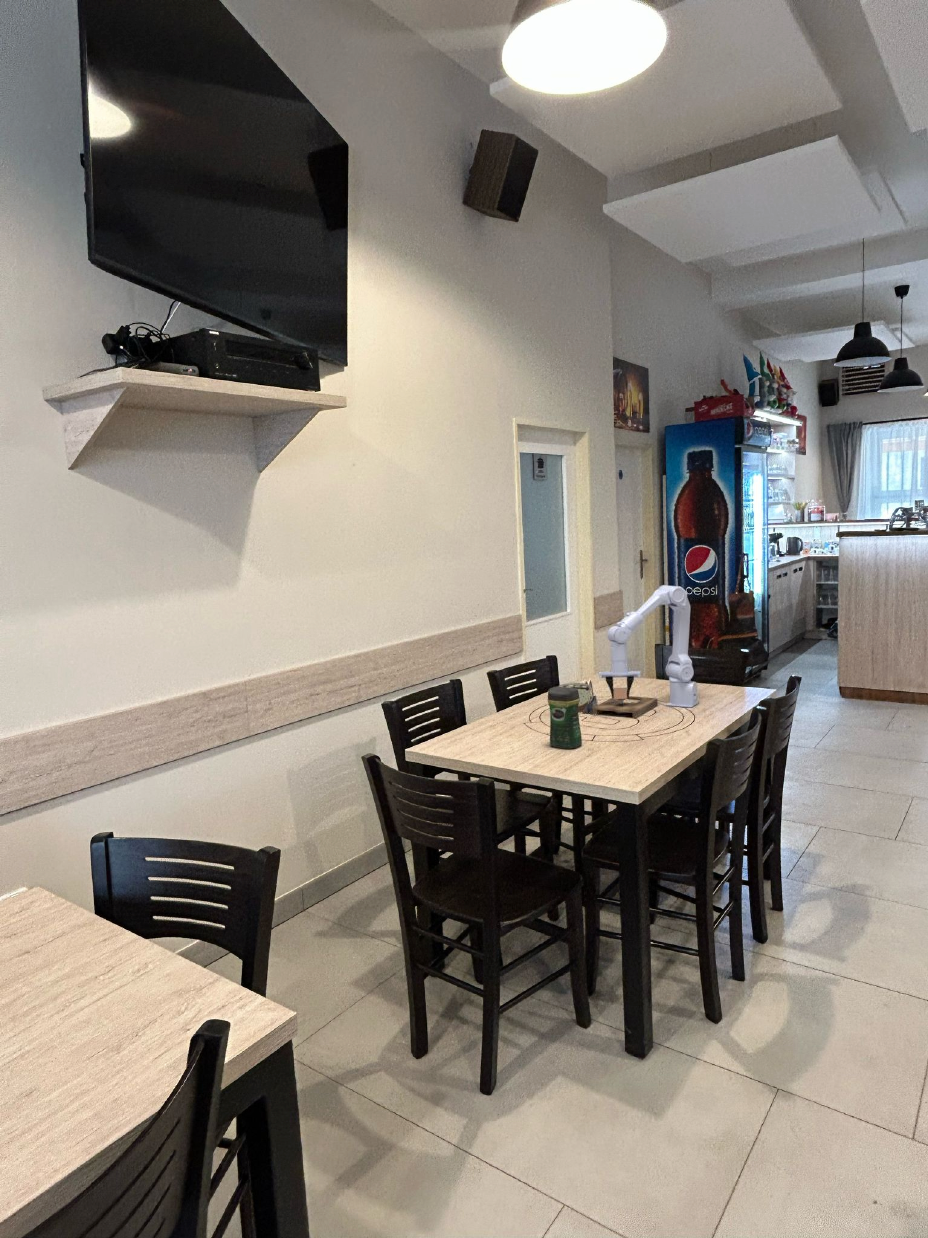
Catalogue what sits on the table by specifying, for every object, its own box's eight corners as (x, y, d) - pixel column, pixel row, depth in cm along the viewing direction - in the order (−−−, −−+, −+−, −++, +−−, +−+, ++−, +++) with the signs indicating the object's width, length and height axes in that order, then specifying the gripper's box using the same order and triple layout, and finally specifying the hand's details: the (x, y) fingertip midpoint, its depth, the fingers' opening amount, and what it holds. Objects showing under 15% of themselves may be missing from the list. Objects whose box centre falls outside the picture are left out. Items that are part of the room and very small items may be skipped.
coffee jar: (586, 744, 247) (583, 685, 245) (572, 751, 241) (570, 691, 239) (559, 740, 253) (556, 683, 251) (546, 747, 247) (543, 688, 245)
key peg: (628, 710, 286) (627, 687, 285) (627, 714, 281) (627, 690, 280) (614, 710, 287) (613, 687, 286) (614, 714, 283) (613, 690, 282)
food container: (591, 708, 294) (590, 681, 293) (592, 712, 288) (591, 685, 287) (557, 709, 295) (556, 683, 294) (558, 713, 289) (556, 686, 288)
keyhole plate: (657, 705, 291) (657, 698, 291) (636, 718, 275) (635, 710, 274) (617, 702, 301) (616, 695, 300) (593, 714, 284) (593, 707, 284)
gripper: (640, 657, 284) (641, 694, 286) (599, 658, 287) (600, 695, 289) (639, 660, 277) (641, 699, 279) (598, 661, 280) (599, 699, 282)
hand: (620, 697), depth 283 cm, fingers closed on key peg, 5 cm apart
